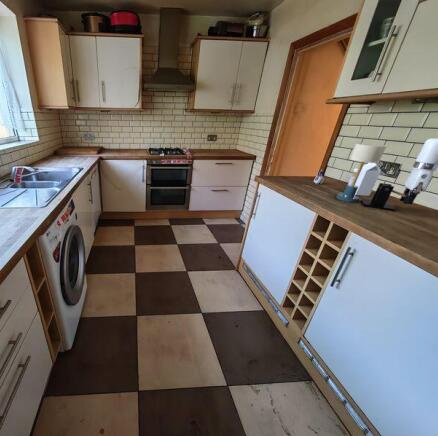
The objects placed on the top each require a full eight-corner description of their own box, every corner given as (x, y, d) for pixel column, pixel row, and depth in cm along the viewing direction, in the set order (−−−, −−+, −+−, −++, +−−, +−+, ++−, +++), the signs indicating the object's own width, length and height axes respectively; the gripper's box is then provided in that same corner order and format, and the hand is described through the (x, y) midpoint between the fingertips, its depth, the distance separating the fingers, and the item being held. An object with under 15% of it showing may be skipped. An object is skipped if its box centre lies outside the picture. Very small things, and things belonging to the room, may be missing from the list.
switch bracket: (388, 205, 122) (400, 184, 116) (394, 211, 115) (406, 189, 110) (360, 201, 127) (369, 180, 122) (363, 206, 120) (373, 184, 115)
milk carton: (355, 195, 136) (369, 163, 128) (349, 191, 143) (362, 161, 135) (369, 196, 135) (384, 164, 127) (362, 192, 141) (376, 162, 133)
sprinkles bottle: (351, 188, 149) (359, 168, 143) (356, 190, 144) (366, 169, 139) (344, 188, 149) (352, 167, 143) (349, 190, 144) (358, 169, 139)
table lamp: (358, 198, 131) (382, 144, 118) (362, 204, 122) (389, 147, 109) (332, 194, 137) (353, 142, 124) (335, 200, 128) (357, 144, 115)
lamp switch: (407, 200, 115) (414, 194, 113) (410, 202, 112) (417, 196, 110) (378, 189, 119) (384, 183, 117) (380, 190, 117) (386, 184, 115)
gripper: (445, 170, 99) (422, 209, 106) (428, 164, 111) (409, 199, 119) (420, 168, 102) (400, 206, 110) (407, 162, 115) (390, 196, 123)
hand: (405, 202), depth 115 cm, fingers closed on lamp switch, 3 cm apart
